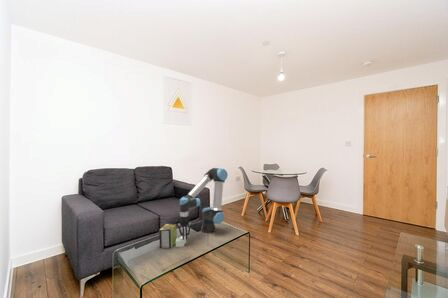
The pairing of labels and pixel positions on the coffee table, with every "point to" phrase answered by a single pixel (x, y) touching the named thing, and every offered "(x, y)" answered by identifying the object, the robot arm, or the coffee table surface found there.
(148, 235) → the coffee table surface
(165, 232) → the protein box
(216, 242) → the coffee table surface
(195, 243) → the coffee table surface
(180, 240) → the sage block
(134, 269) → the coffee table surface
